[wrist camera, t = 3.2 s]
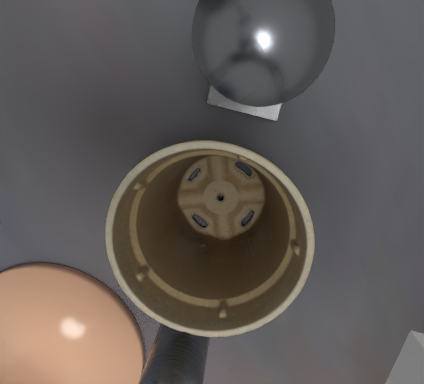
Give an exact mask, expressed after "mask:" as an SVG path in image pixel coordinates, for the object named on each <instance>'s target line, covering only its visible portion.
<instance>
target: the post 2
mask: <svg viewBox="0 0 424 384" xmlns="http://www.w3.org/2000/svg"><path fill="white" fill-rule="evenodd" d="M334 36H335V16H334V9H333V5H332V1H331V0H199V2H198V5H197V7H196V11H195V14H194V19H193V26H192V41H193V49H194V53H195V57H196V60H197V63H198V65H199V67H200V69H201V71H202V73H203V75H204V76H205V78H206V79H207V81H208V82H209V83H210V84H211V85H210V90H209V94H208V98H207V104H211V105H215V106H219V107H223V108H227V109H231V110H235V111H239V112H243V113H247V114H251V115H255V116H259V117H263V118H267V119H271V120H275V121H277V117H278V114H279V111H280V107H281V104H282V103H283V102H286V101H289V100H290V99H292V98H294V97H296V96H298V95H299V94H300V93H302V92H303V91H305V90H306V89H307V88H308V87H309V86H310V85H311V84H312V83H313V82H314V81H315V80H316V79H317V77H318V76H319V74H320V73H321V72H322V70H323V68H324V67H325V65H326V63H327V61H328V58H329V56H330V53H331V50H332V46H333V42H334Z"/></svg>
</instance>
